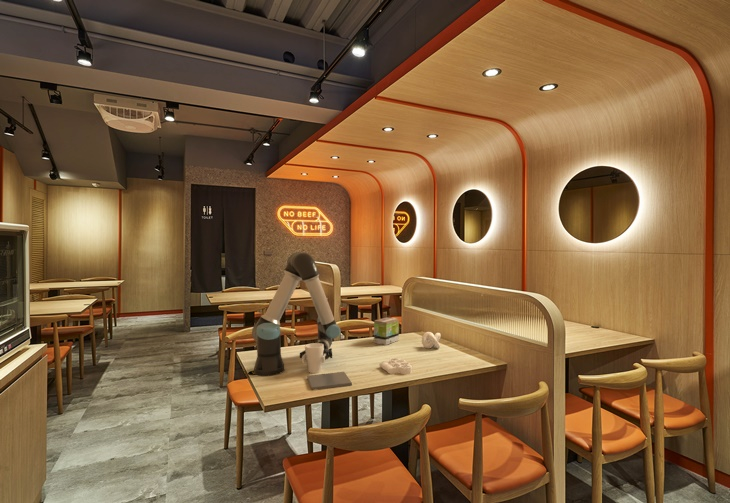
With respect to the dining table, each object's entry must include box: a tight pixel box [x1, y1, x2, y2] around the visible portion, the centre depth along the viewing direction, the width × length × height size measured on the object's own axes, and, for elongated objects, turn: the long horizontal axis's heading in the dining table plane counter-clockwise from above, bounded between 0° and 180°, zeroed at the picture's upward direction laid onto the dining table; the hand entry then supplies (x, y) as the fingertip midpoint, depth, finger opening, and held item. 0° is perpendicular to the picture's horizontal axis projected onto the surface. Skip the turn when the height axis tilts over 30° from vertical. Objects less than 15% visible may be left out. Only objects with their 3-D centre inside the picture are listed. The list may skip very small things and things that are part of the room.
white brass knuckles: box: [378, 357, 413, 375], centre depth 194 cm, size 3×18×15 cm
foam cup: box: [304, 342, 324, 374], centre depth 192 cm, size 10×9×13 cm
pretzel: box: [421, 331, 441, 349], centre depth 233 cm, size 11×12×9 cm
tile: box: [306, 371, 353, 391], centre depth 177 cm, size 18×16×1 cm
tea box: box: [373, 316, 400, 346], centre depth 248 cm, size 15×10×15 cm, turn 143°
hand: (312, 359), depth 188 cm, fingers closed on foam cup, 9 cm apart
